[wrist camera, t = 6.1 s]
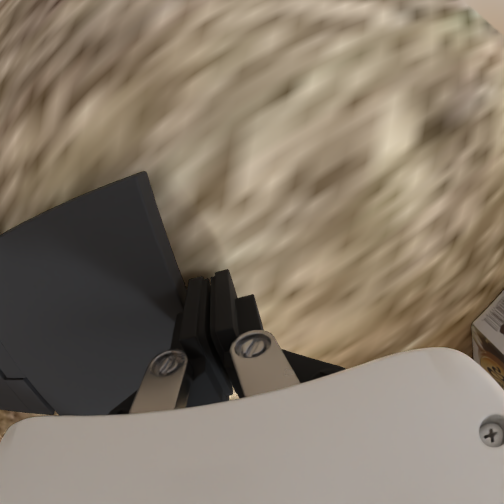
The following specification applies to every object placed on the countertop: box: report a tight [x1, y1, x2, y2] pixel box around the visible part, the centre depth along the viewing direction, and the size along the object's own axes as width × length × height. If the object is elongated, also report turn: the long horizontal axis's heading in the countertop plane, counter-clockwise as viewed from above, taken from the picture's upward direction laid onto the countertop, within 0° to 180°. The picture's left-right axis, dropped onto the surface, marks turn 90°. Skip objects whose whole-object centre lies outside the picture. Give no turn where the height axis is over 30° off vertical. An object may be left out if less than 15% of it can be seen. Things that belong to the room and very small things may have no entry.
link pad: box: [0, 171, 229, 416], centre depth 12 cm, size 12×14×2 cm
